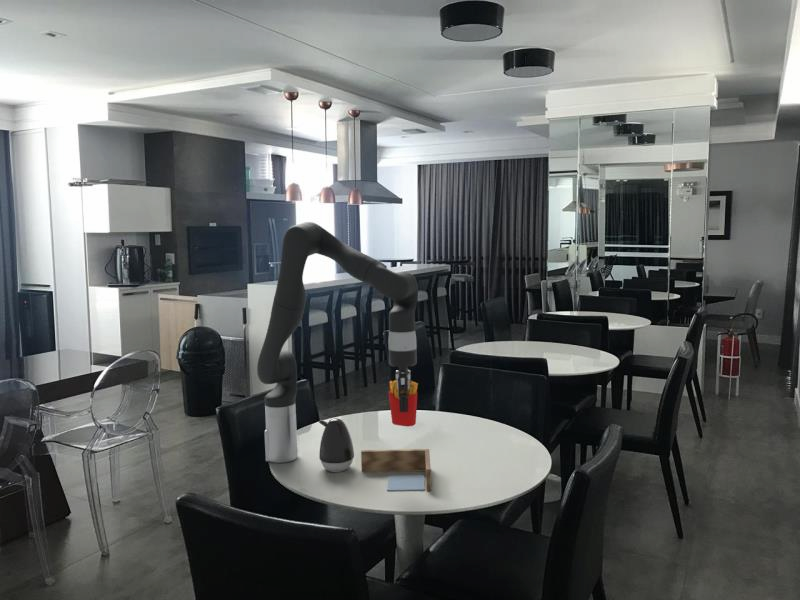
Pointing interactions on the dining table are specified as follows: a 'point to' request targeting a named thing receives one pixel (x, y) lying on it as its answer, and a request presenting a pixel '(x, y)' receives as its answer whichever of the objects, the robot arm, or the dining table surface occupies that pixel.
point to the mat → (406, 483)
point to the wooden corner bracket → (397, 461)
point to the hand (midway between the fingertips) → (403, 408)
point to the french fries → (397, 416)
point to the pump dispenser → (336, 446)
